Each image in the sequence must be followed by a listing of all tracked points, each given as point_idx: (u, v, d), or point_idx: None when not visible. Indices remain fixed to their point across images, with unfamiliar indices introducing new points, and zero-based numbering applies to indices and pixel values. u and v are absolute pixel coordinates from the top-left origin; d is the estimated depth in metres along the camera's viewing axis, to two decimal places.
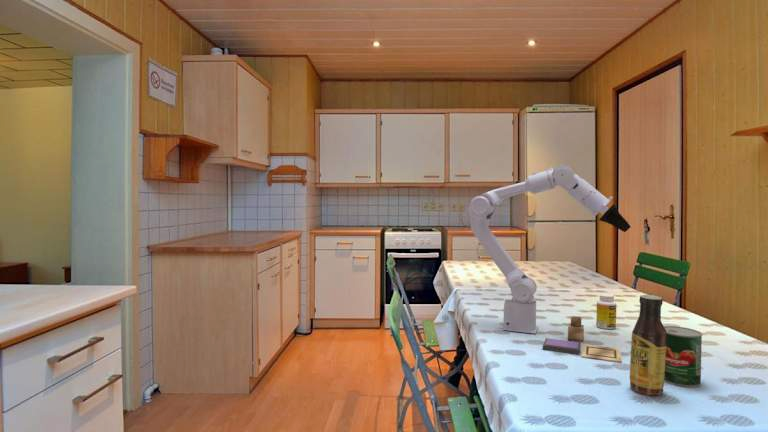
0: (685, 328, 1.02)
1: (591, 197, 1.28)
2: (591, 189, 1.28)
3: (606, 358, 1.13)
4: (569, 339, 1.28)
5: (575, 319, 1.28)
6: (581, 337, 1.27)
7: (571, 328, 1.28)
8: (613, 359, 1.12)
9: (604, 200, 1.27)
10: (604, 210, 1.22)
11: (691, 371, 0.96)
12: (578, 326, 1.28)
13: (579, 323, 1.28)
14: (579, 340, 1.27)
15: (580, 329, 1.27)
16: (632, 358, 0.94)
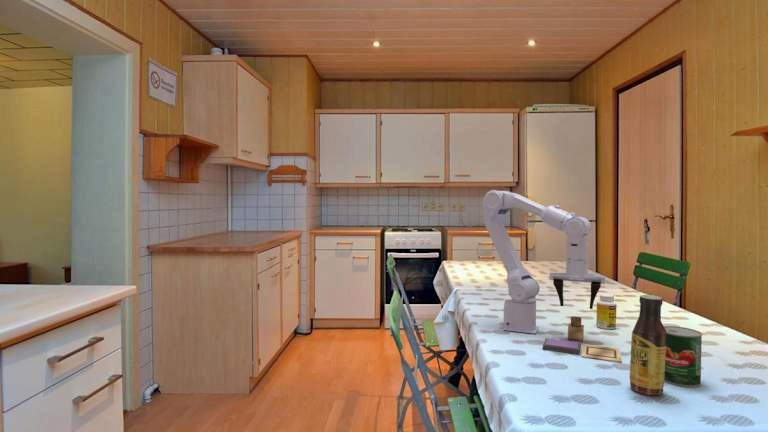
0: (685, 328, 1.02)
1: (566, 262, 1.30)
2: (582, 258, 1.26)
3: (606, 358, 1.13)
4: (569, 339, 1.28)
5: (575, 319, 1.28)
6: (581, 337, 1.27)
7: (571, 328, 1.28)
8: (613, 359, 1.12)
9: (568, 273, 1.28)
10: None
11: (691, 371, 0.96)
12: (578, 326, 1.28)
13: (579, 323, 1.28)
14: (579, 340, 1.27)
15: (579, 329, 1.27)
16: (632, 358, 0.94)
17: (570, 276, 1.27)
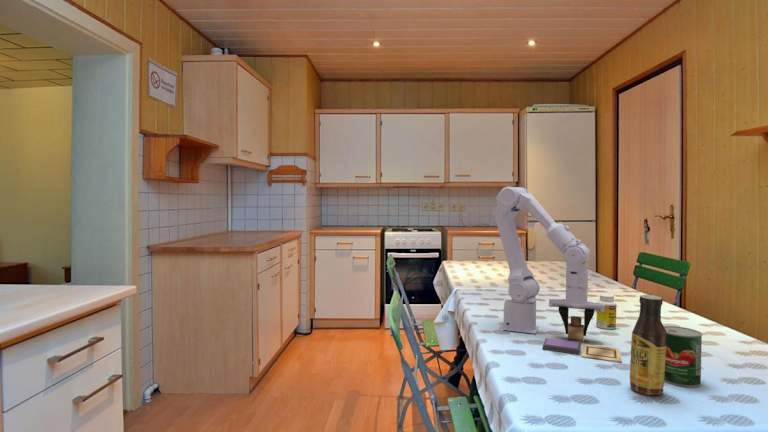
0: (685, 328, 1.02)
1: None
2: (582, 286, 1.26)
3: (606, 358, 1.13)
4: (569, 339, 1.28)
5: (575, 319, 1.28)
6: (581, 337, 1.27)
7: (571, 328, 1.28)
8: (613, 359, 1.12)
9: (568, 301, 1.28)
10: (549, 304, 1.32)
11: (691, 371, 0.96)
12: (578, 326, 1.28)
13: (579, 323, 1.28)
14: (579, 340, 1.27)
15: (580, 329, 1.27)
16: (632, 358, 0.94)
17: (570, 304, 1.27)
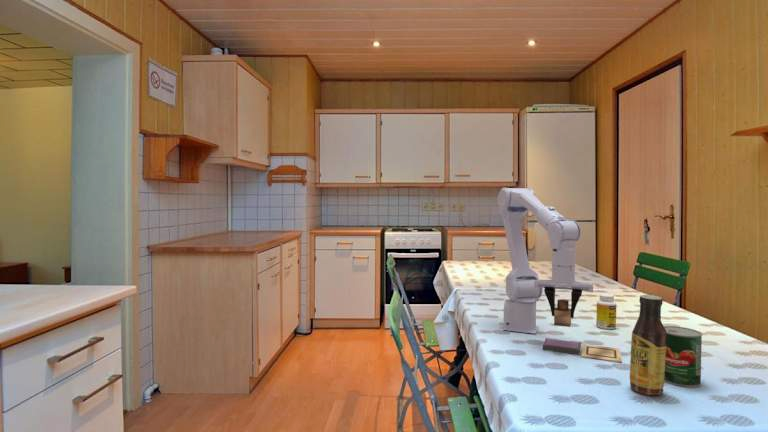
0: (685, 328, 1.02)
1: (552, 268, 1.22)
2: (562, 264, 1.19)
3: (606, 358, 1.13)
4: (555, 323, 1.21)
5: (562, 302, 1.20)
6: (568, 321, 1.19)
7: (557, 311, 1.20)
8: (613, 359, 1.12)
9: (554, 281, 1.20)
10: None
11: (691, 371, 0.96)
12: (565, 309, 1.20)
13: (566, 306, 1.20)
14: (566, 324, 1.20)
15: (566, 312, 1.19)
16: (632, 358, 0.94)
17: (556, 284, 1.19)
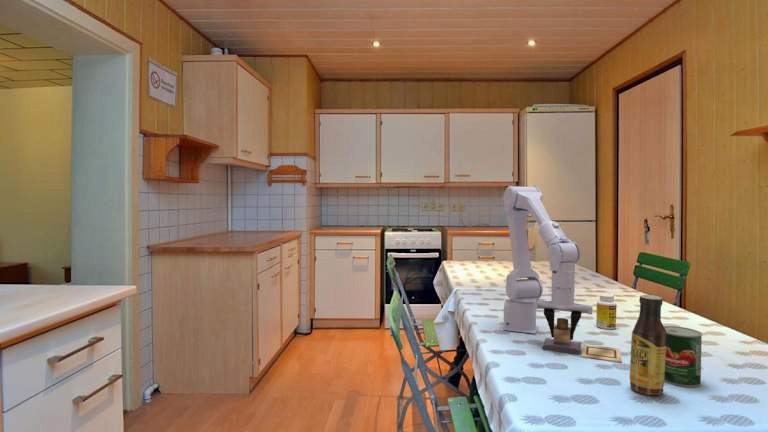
0: (685, 328, 1.02)
1: None
2: (561, 286, 1.19)
3: (606, 358, 1.13)
4: (555, 342, 1.21)
5: (561, 321, 1.21)
6: (567, 340, 1.19)
7: (557, 330, 1.20)
8: (613, 359, 1.12)
9: (554, 302, 1.20)
10: (534, 306, 1.24)
11: (691, 371, 0.96)
12: (564, 328, 1.20)
13: (565, 325, 1.20)
14: (565, 343, 1.20)
15: (566, 331, 1.19)
16: (632, 358, 0.94)
17: (555, 305, 1.20)
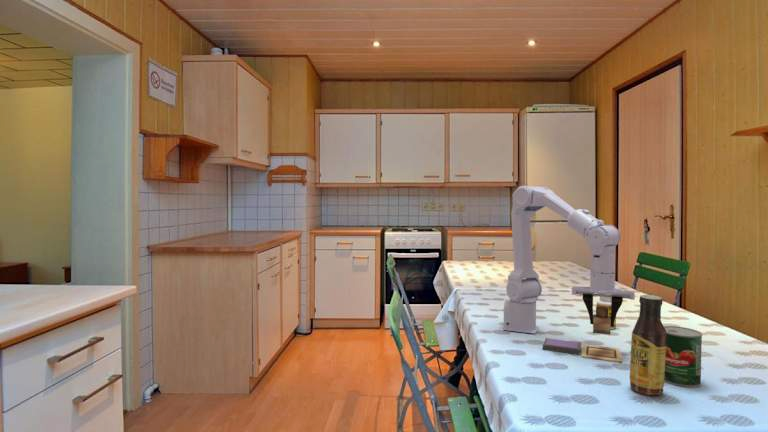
0: (685, 328, 1.02)
1: (590, 275, 1.18)
2: (605, 271, 1.14)
3: (606, 358, 1.13)
4: (594, 331, 1.16)
5: (601, 309, 1.16)
6: (608, 329, 1.15)
7: (597, 319, 1.16)
8: (613, 359, 1.12)
9: (593, 288, 1.16)
10: (572, 292, 1.20)
11: (691, 371, 0.96)
12: (604, 316, 1.16)
13: (606, 313, 1.16)
14: (606, 332, 1.15)
15: (606, 320, 1.15)
16: (632, 358, 0.94)
17: (595, 291, 1.15)
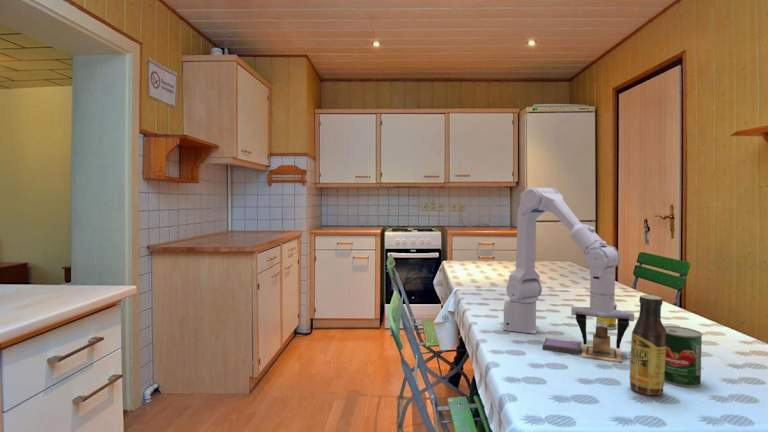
0: (685, 328, 1.02)
1: (590, 296, 1.18)
2: (605, 293, 1.14)
3: (606, 358, 1.13)
4: (594, 351, 1.17)
5: (601, 329, 1.16)
6: (608, 349, 1.15)
7: (596, 339, 1.16)
8: (613, 359, 1.12)
9: (593, 309, 1.16)
10: None
11: (691, 371, 0.96)
12: (604, 337, 1.16)
13: (605, 334, 1.16)
14: (605, 353, 1.15)
15: (606, 340, 1.15)
16: (632, 358, 0.94)
17: (595, 312, 1.16)
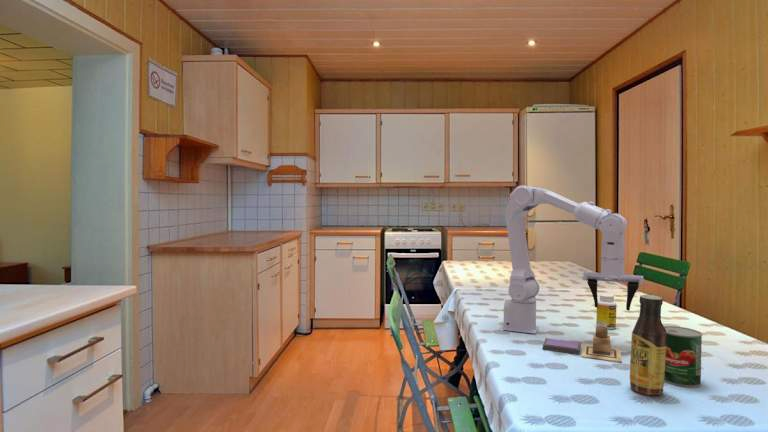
0: (685, 328, 1.02)
1: (601, 261, 1.24)
2: (619, 257, 1.20)
3: (606, 358, 1.13)
4: (594, 351, 1.17)
5: (601, 329, 1.16)
6: (608, 349, 1.15)
7: (596, 339, 1.16)
8: (613, 359, 1.12)
9: (604, 273, 1.22)
10: (583, 277, 1.26)
11: (691, 371, 0.96)
12: (604, 337, 1.16)
13: (605, 334, 1.16)
14: (605, 353, 1.15)
15: (606, 340, 1.15)
16: (632, 358, 0.94)
17: (606, 276, 1.21)
